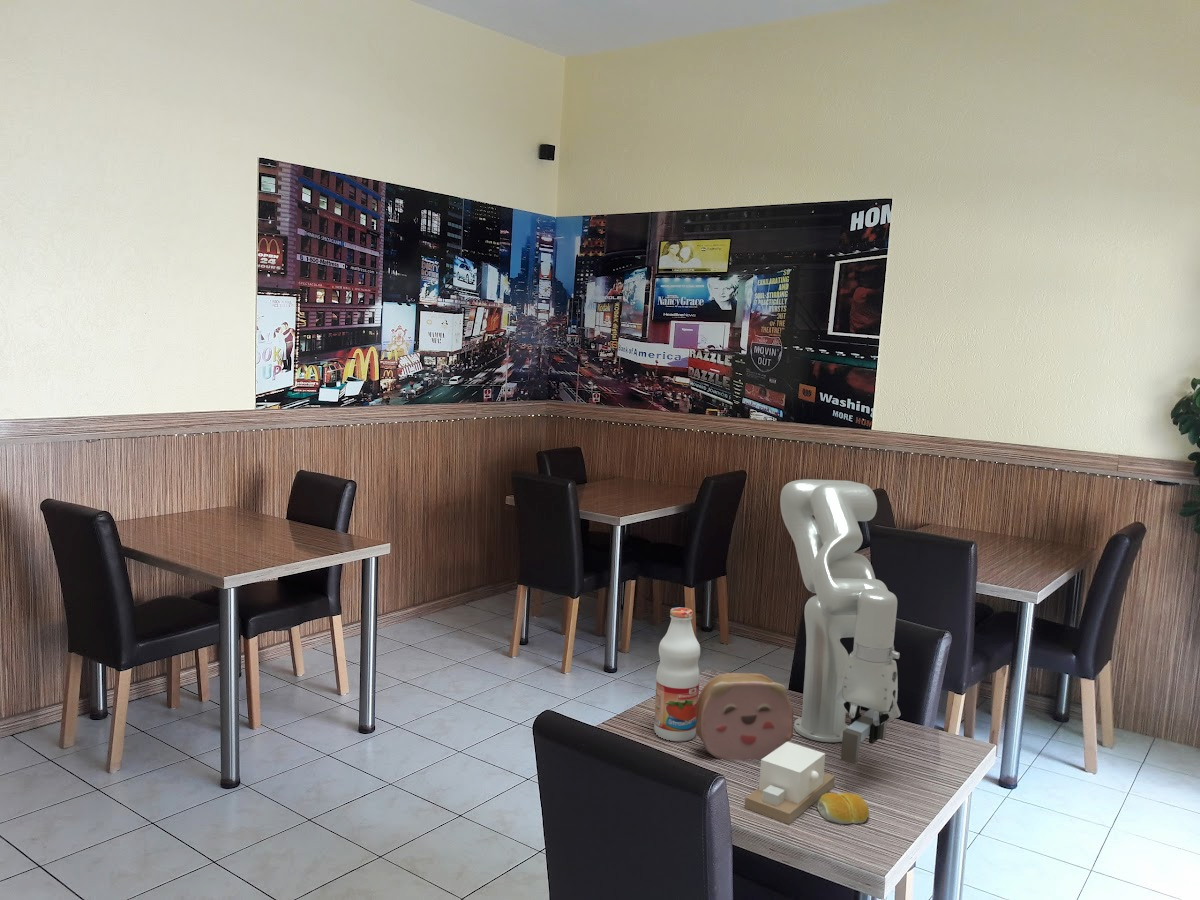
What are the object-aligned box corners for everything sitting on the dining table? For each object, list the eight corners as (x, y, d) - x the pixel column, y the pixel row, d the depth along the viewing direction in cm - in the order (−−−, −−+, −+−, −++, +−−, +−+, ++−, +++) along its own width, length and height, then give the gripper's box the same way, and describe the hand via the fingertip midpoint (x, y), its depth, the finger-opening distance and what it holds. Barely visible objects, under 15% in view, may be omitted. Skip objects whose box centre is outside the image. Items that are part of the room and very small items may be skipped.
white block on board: (792, 771, 188) (795, 734, 187) (838, 787, 182) (841, 748, 182) (744, 807, 172) (747, 766, 172) (792, 825, 167) (795, 783, 166)
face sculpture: (698, 761, 191) (702, 683, 190) (691, 747, 198) (695, 671, 196) (792, 760, 194) (797, 683, 192) (782, 746, 200) (787, 671, 199)
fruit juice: (677, 722, 211) (684, 602, 208) (705, 737, 204) (712, 612, 201) (645, 730, 206) (651, 607, 203) (671, 746, 198) (678, 618, 195)
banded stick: (871, 733, 195) (873, 706, 194) (885, 737, 193) (888, 710, 192) (840, 759, 182) (843, 730, 181) (855, 764, 180) (857, 735, 179)
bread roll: (875, 824, 169) (877, 804, 168) (829, 827, 167) (831, 806, 167) (855, 802, 177) (857, 782, 176) (811, 805, 175) (812, 784, 175)
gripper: (920, 657, 182) (911, 745, 185) (841, 636, 192) (833, 720, 195) (906, 667, 177) (897, 758, 179) (826, 645, 186) (818, 732, 189)
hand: (864, 737), depth 187 cm, fingers closed on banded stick, 3 cm apart
